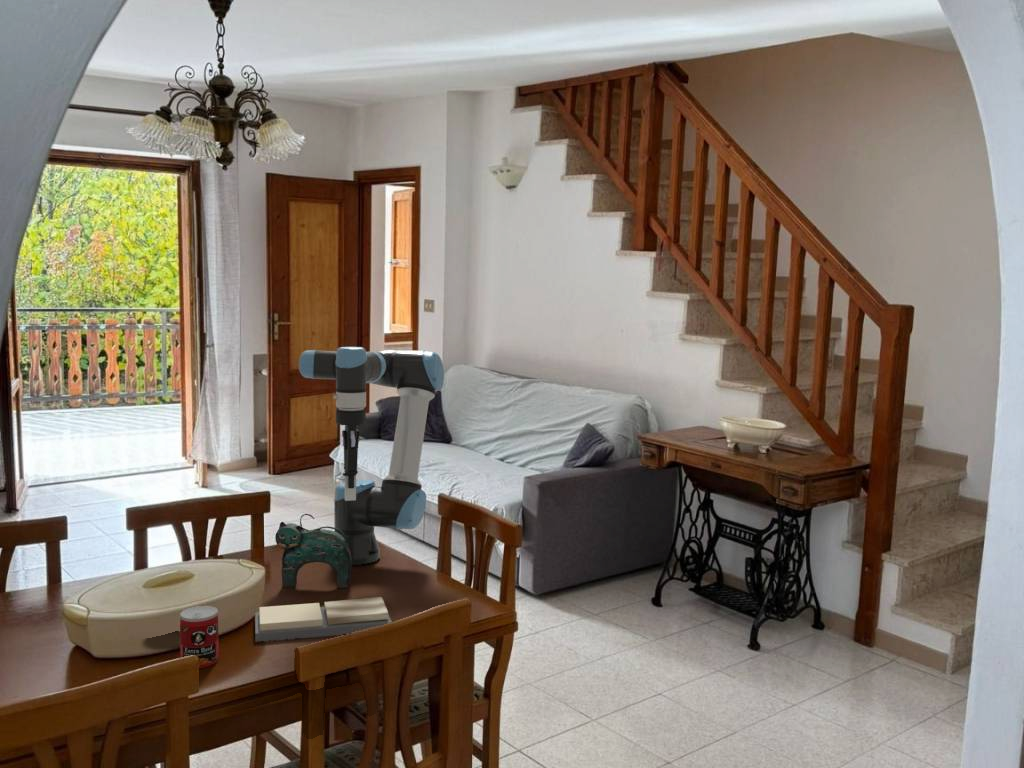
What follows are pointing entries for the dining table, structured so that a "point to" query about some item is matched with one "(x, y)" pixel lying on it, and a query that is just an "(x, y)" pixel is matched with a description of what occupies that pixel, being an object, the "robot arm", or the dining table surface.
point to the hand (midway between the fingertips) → (350, 499)
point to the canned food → (199, 634)
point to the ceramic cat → (313, 552)
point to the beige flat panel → (355, 610)
